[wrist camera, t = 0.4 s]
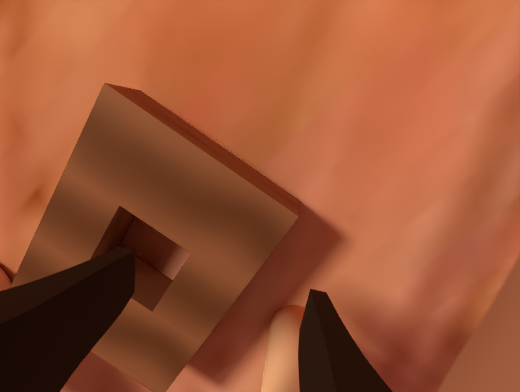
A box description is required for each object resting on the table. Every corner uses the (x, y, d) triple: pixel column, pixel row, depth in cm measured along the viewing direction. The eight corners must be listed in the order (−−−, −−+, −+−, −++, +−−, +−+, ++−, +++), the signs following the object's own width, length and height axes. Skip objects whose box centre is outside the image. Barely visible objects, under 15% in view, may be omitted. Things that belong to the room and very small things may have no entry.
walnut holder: (181, 357, 26) (161, 397, 23) (49, 270, 26) (5, 296, 22) (298, 200, 22) (299, 216, 18) (139, 90, 21) (104, 83, 17)
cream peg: (299, 355, 25) (301, 480, 16) (260, 329, 25) (240, 441, 16) (329, 323, 24) (346, 438, 15) (288, 296, 24) (282, 396, 15)
